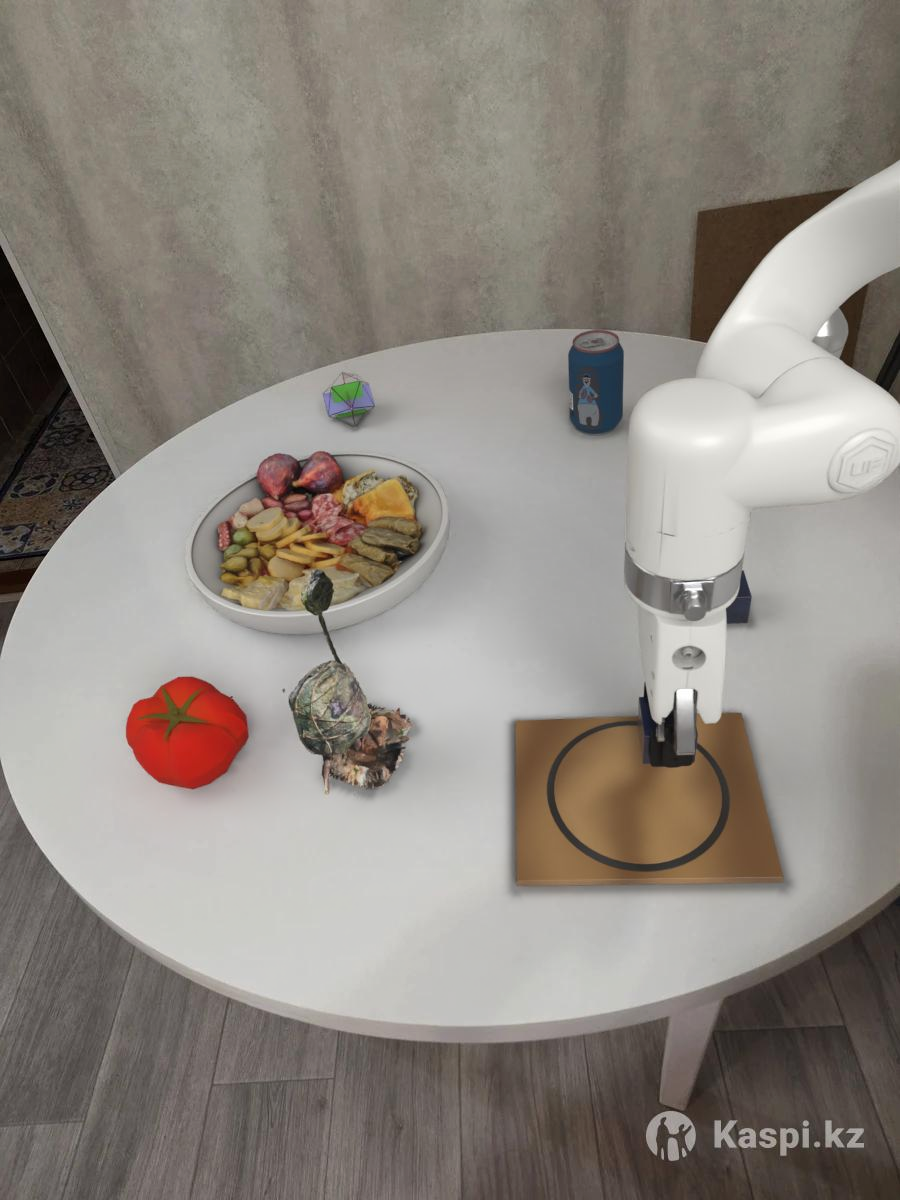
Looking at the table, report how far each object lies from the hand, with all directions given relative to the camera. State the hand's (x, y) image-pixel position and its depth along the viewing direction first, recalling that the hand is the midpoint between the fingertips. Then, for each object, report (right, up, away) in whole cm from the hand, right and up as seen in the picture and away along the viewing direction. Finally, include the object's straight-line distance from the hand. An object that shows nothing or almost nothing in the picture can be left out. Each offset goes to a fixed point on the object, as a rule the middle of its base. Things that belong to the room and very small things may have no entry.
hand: (666, 737), depth 69 cm
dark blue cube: (0, -1, 0) cm, 1 cm away
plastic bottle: (+26, +30, +38) cm, 55 cm away
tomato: (-41, -4, +12) cm, 43 cm away
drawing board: (-2, -5, +3) cm, 7 cm away
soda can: (+2, +34, +46) cm, 58 cm away
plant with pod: (-25, -3, +10) cm, 27 cm away
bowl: (-32, +16, +32) cm, 48 cm away
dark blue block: (+10, +10, +18) cm, 23 cm away
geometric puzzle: (-31, +37, +55) cm, 73 cm away
